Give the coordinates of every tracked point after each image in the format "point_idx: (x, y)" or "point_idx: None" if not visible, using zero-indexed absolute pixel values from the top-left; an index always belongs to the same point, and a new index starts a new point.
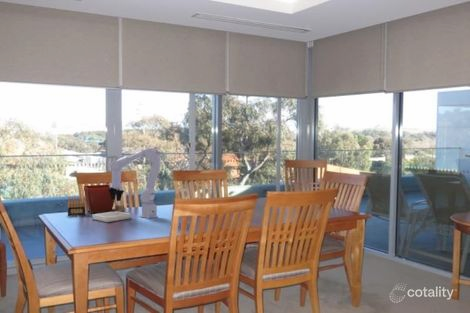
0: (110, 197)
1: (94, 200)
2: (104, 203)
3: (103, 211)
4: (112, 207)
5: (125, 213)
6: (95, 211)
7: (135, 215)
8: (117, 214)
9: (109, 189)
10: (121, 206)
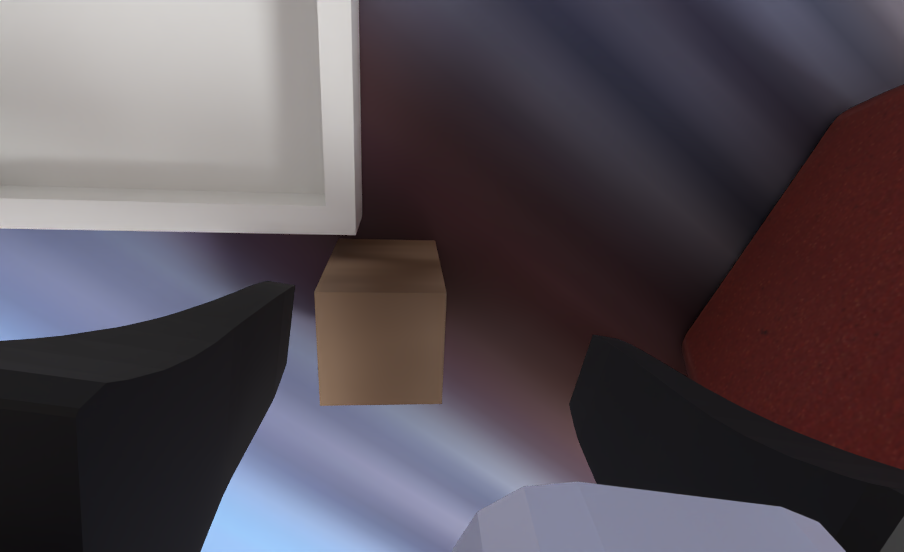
0: None
1: None
2: (812, 300)
3: (742, 255)
4: None
5: (43, 196)
6: (823, 145)
7: None
8: (309, 195)
9: (872, 484)
10: (317, 340)
